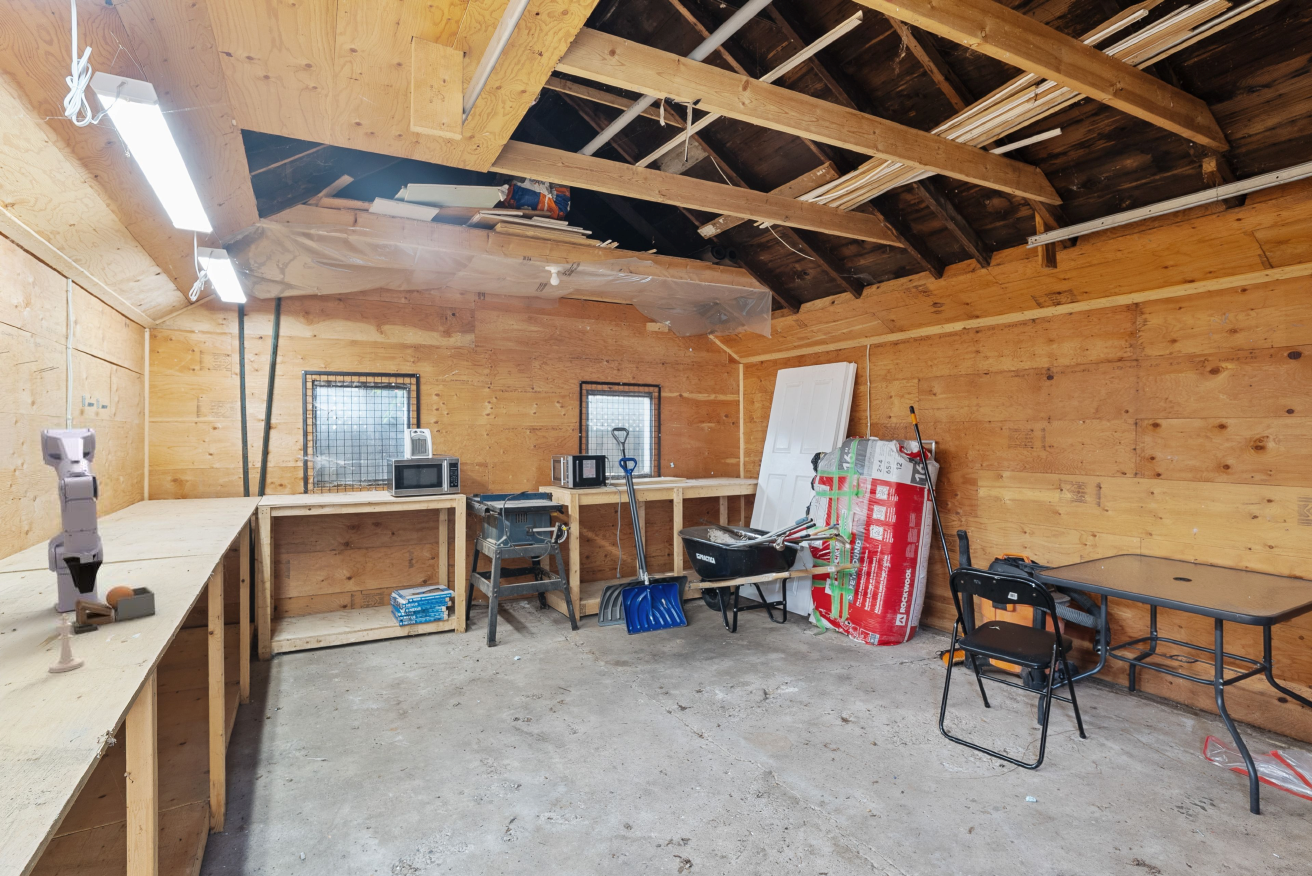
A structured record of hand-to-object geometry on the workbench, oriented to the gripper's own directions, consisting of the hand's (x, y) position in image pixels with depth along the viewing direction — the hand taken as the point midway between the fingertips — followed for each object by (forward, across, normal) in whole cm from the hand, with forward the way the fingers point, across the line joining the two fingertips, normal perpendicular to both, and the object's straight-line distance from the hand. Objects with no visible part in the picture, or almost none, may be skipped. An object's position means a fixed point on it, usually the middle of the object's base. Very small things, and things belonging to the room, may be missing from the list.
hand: (83, 589), depth 145 cm
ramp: (+8, 0, +2) cm, 8 cm away
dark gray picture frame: (+8, +6, -1) cm, 10 cm away
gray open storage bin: (+8, 0, +8) cm, 11 cm away
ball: (+3, 0, +6) cm, 7 cm away
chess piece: (+8, +32, -6) cm, 33 cm away
